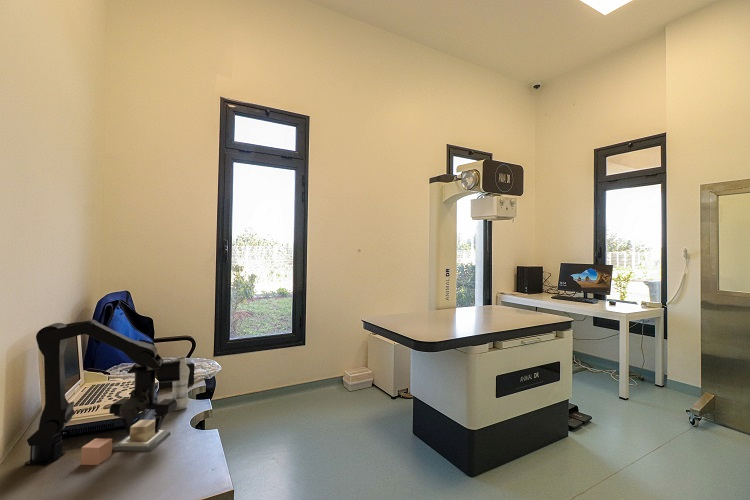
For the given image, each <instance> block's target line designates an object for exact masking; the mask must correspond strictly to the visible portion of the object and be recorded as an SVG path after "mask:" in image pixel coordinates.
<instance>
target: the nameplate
mask: <svg viewBox="0 0 750 500" xmlns="http://www.w3.org/2000/svg"><path fill="white" fill-rule="evenodd" d="M186 365H187V366H188V367H189V370H190V372H189V378H188V384H187V385H188V386H192V385H194V383H195V366H196V365H195V363H194V362H189V363H188V362H186ZM155 378H156V379H157V371H156V374H155ZM158 381H159V380H158ZM159 389H160V390H166V389H173V382H164V383H161V381H160V382H159Z"/></svg>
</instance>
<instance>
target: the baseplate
mask: <svg viewBox="0 0 750 500" xmlns="http://www.w3.org/2000/svg"><path fill="white" fill-rule="evenodd" d="M170 435H171V431H168V430H167V431H165V430H164V429H159V431H158V433H155V436H153V437H152V438H151V439H150V440H149V441H147V442H130V434H129V435H127V436H126V437H125V438H123V439H121V440H120V441H119V442H117V444H115V445H114V446H112V451H141V452H142V451H149V452H150V451H153V450H154V449H155V448H157V446H158V445H160V444H161V443H162V442H164V441H165V439H167V438H168V437H169V436H170Z"/></svg>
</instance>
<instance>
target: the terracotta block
mask: <svg viewBox="0 0 750 500" xmlns="http://www.w3.org/2000/svg"><path fill="white" fill-rule="evenodd" d="M112 445H113V438H96V437H95V438H94V439H93V440H91V441H90V442H88V443H86V444H85V445H83V446H82V447H81V453H80V454H81V455H80V456H81V457H80V465H84V466H85V465H87V466H89V465H90V466H99V465H100V464H101V463H103V462H104V461H106V460H107V459H108V458H110V457H111V456H112V451H113V446H112Z"/></svg>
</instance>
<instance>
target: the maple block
mask: <svg viewBox="0 0 750 500" xmlns="http://www.w3.org/2000/svg"><path fill="white" fill-rule="evenodd" d="M155 420H156V419H139V420H138V421H137V422H135V423H134V424H132V426H131V427H130V433H129V435H130V442H147V441H149V440H150V439H151V438H152V437H153V436H155Z"/></svg>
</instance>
